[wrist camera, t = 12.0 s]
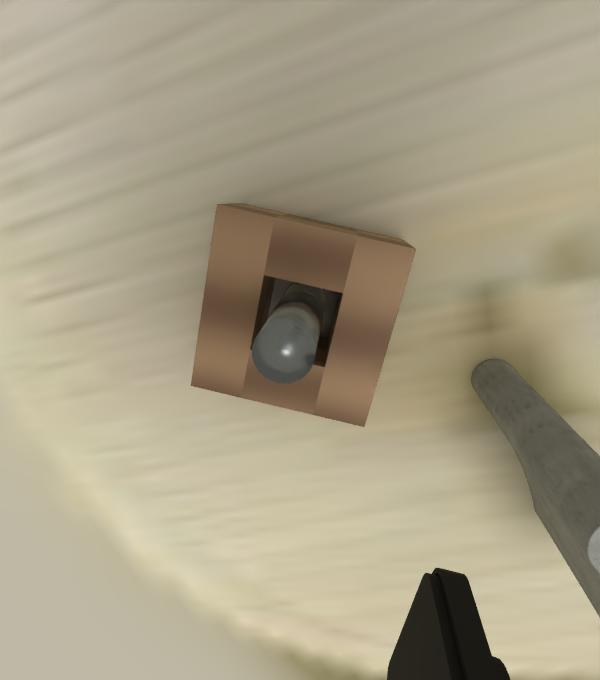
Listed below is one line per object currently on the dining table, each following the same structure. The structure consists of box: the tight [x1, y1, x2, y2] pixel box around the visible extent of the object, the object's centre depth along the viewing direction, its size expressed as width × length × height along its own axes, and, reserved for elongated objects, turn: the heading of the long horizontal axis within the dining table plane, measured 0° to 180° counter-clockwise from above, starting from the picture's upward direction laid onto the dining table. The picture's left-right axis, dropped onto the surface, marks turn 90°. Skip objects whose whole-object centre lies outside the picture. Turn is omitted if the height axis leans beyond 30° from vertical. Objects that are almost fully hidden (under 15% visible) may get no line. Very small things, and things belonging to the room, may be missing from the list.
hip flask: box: [471, 359, 600, 617], centre depth 26 cm, size 16×4×20 cm, turn 30°
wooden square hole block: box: [191, 203, 416, 427], centre depth 31 cm, size 12×12×6 cm
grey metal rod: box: [252, 283, 326, 384], centre depth 28 cm, size 3×3×12 cm
